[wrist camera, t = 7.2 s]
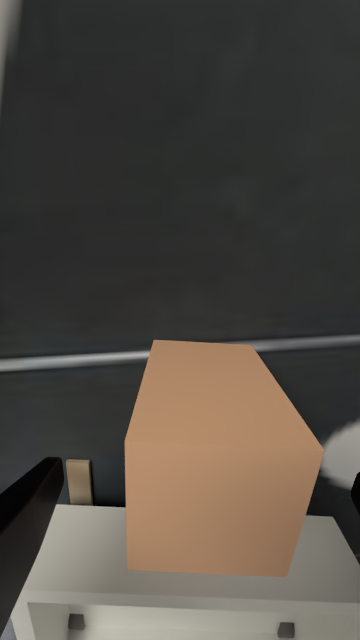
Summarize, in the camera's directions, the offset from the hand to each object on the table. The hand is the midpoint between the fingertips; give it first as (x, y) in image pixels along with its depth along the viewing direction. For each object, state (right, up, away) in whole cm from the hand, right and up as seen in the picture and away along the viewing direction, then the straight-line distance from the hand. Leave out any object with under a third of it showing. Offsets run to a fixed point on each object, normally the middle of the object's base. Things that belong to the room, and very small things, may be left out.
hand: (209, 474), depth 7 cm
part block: (0, +1, +4) cm, 5 cm away
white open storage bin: (-1, -9, +8) cm, 12 cm away
